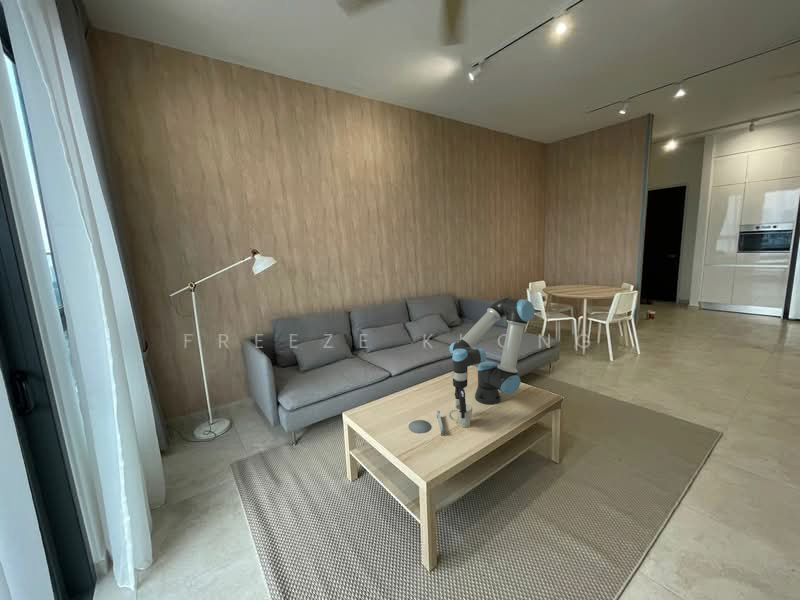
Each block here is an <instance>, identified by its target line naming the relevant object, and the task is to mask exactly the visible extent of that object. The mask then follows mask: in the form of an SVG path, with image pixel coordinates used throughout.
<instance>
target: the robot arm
mask: <svg viewBox="0 0 800 600" xmlns="http://www.w3.org/2000/svg"><path fill="white" fill-rule="evenodd" d="M534 316H535V307H534V305H533V303H532V302H531V301H529V300H528V299H523V298H516V297H510V296H509V297H508V296H507V297H502V298H499V299H498V300H496V301H494V302H493V303H492V304H491V305H489V306H488V308H487V309H486V313H484V315H482V316H481V318H480V319H479V320H478V321H477V322H476V323H475V324H474V325H473V326H472V327H471V328H470V329H469V330H468V332H466V334H465V335H463V337H462V338H461V339H460V340H459V341H455V342H452V343H451V344H450V346H449V353H450V354H451V355H452V372H451V375H452V386H453V387H454V399H455V409H457V408H456V407H457V405H458V404H460V411H459V412H460V424H461V423H465V413H466V412H467V411H466V404H467V403H466V392H465V388H467V387H468V377H469V376H468V368H469V367H470V366H474V365H478V367H477V388H476V389H475V390H476V391H475V393H474V398H475V400H476V401H477V402H478V403H480V404H483V405H484V404H485V405H496V404H498V403H499V402H501V395H500V392H501V393H504V394H507V395H513V394H514V393H516V392H517V391H518V390H519V388H520V386H521V382H522V381H521V380H522V379H521V378H520V376H518V373H519V371H518V369H517V364H518V358H519V353H520V349H521V344H522V338H523V333H524V328H525V327H526V326H528V323H529V322H531V321H532V320H533V319H534ZM504 317H506V320H505V321H506V322H507V329H506V333H505V339H504V344H503V349H502V353H501V359H500V364H498V363H497V362H495V361H486V360H487V353H486V351H485V350H484V349H483V348H476V349H475V348H473V346H475V345H476V343H478V342H479V341H480V339H482V337H483V336H484V335H485V334H486V333H487V332H488V331H489V330H490V329H491V327H492V326H493V325H494V324H495V323H496V322H497V321H501V320H502V319H503V318H504Z"/></svg>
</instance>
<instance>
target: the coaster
mask: <svg viewBox="0 0 800 600" xmlns="http://www.w3.org/2000/svg"><path fill="white" fill-rule="evenodd" d="M431 428H432V424H431V423H430V422H428V421H426V420H424V419H415V420H413V421H411V422H410V423H409V424H408V429H409V431H411V432H412V433H414V434H426V433H427V432H429V431H430V430H431Z"/></svg>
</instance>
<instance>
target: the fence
mask: <svg viewBox="0 0 800 600" xmlns="http://www.w3.org/2000/svg"><path fill="white" fill-rule="evenodd" d="M436 418H437V423H438V425H439V430H440V431H439V432H440V436H442V437H443V436H444V435H445V431H444V428H445V427H444V426H443V423H442V418H441V412H440V410H437V411H436Z"/></svg>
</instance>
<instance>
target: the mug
mask: <svg viewBox="0 0 800 600" xmlns="http://www.w3.org/2000/svg"><path fill="white" fill-rule="evenodd" d="M456 408H457V409H456ZM459 411H460V404H458V405H457V407H456V406H455V408H452V409H450V410H449V411H448V417H449V418H450V420H452V421H454V422H456V421H457V422H458V425H459V426H460V427H462V428H464V429H465V428H469V427H470V426H471V420H472V414H473V406H472V405H471V404H470V403H466V411H467V412H466V413H465V423H461V424H460V412H459ZM453 412H456V414H457V418H454V417H453V416H452V413H453Z"/></svg>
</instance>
